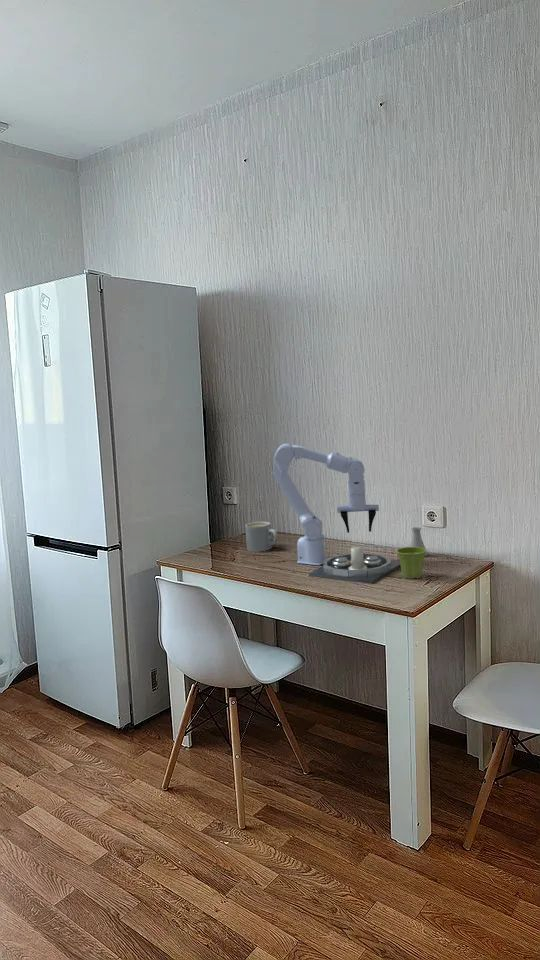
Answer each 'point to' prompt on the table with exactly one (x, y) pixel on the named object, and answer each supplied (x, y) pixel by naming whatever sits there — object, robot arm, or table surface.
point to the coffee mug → (259, 536)
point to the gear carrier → (340, 570)
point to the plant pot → (411, 561)
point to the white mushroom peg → (357, 559)
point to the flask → (417, 539)
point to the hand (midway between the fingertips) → (359, 531)
